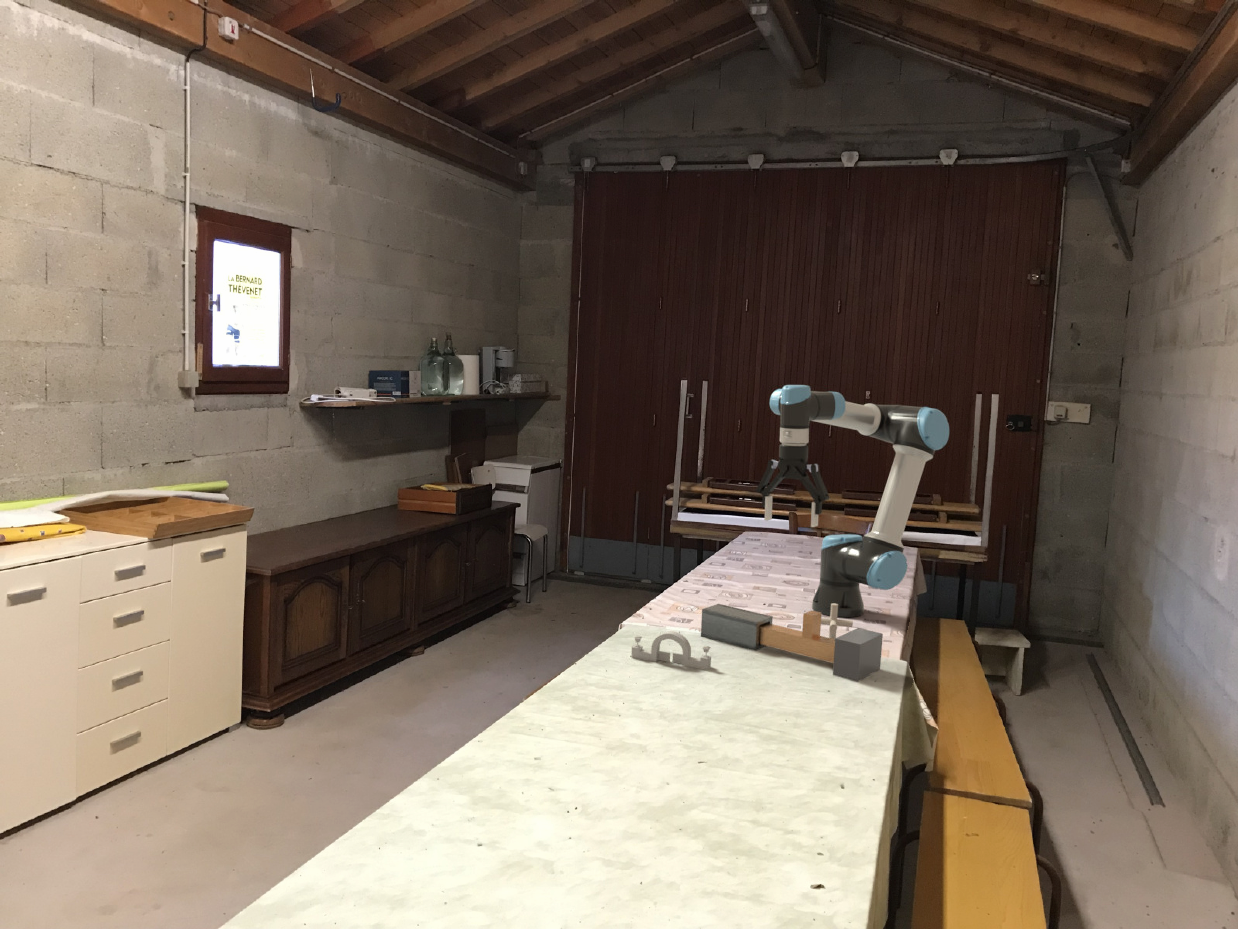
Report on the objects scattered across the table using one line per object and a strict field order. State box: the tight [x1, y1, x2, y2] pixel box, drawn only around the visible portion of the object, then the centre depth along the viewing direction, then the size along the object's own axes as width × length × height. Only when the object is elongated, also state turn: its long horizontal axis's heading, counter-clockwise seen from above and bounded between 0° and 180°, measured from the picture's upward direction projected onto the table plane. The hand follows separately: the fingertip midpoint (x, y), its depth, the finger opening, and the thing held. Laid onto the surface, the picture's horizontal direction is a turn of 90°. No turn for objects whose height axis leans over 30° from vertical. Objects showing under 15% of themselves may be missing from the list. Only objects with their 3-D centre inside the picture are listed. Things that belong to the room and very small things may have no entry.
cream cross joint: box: [821, 603, 854, 639], centre depth 256 cm, size 10×10×10 cm
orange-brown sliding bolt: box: [758, 609, 835, 663], centre depth 240 cm, size 4×30×10 cm, turn 50°
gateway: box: [630, 630, 712, 670], centre depth 233 cm, size 20×2×8 cm, turn 69°
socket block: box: [832, 627, 884, 682], centre depth 231 cm, size 12×6×9 cm, turn 141°
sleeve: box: [700, 603, 773, 652], centre depth 253 cm, size 8×17×8 cm, turn 51°
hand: (790, 523), depth 254 cm, fingers open, 13 cm apart
